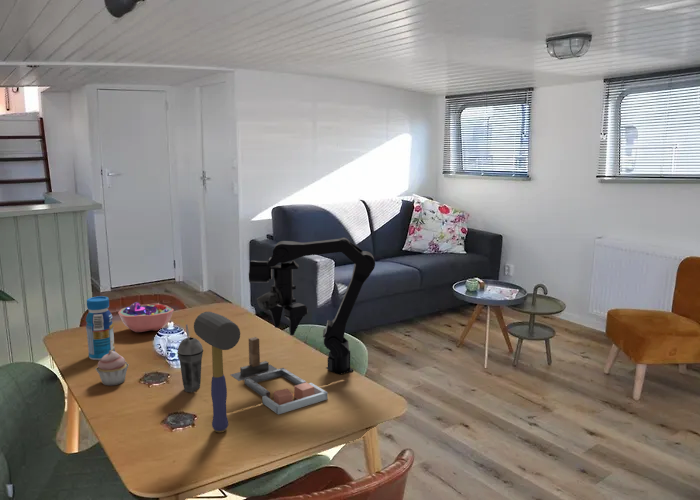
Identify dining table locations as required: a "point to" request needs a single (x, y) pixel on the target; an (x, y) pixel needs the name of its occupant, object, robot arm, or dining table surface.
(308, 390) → the salmon pink cube
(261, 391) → the slot channel
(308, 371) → the dining table surface
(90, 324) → the beverage bottle
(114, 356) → the cupcake
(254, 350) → the t-shaped scraper
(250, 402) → the dining table surface
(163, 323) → the cell model
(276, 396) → the dusty rose cube
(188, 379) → the beverage cup
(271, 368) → the mat
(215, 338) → the rubber mallet
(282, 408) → the tray
